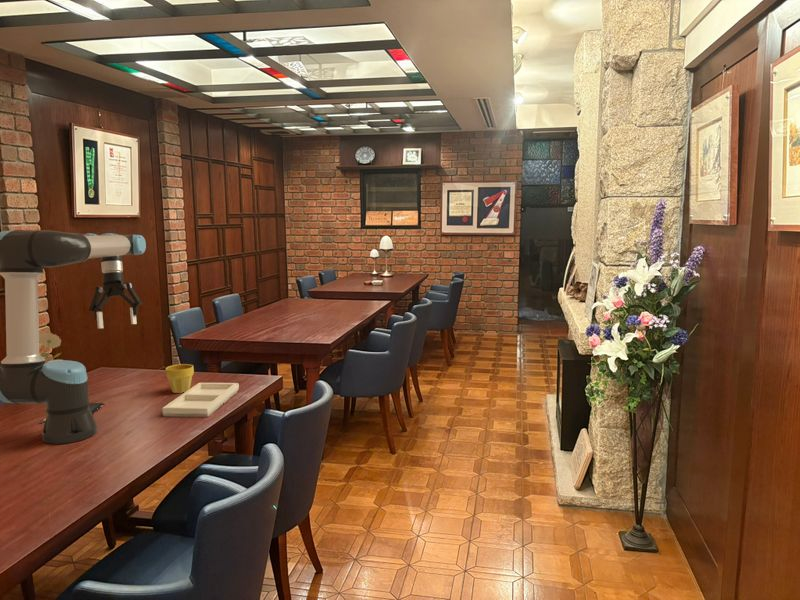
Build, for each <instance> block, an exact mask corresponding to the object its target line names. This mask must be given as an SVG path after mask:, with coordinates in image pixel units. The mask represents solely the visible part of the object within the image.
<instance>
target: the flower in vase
mask: <svg viewBox="0 0 800 600" xmlns="http://www.w3.org/2000/svg"><path fill="white" fill-rule="evenodd" d="M61 344H62V339H61V338H60V336H58V335H57V334H56V333H55V334H53V333H52V332H49V333H48V332H42V333H39V345H41V346H43V347H45V348H47V351H46V352H45V351H44V352H40V353H39V354H40V355H41V356H42V357H43V358H44V359H47V358H48V357H50V359H51V360H49V361H48V362H51V361H62V360H63V359H55V358H57V357H59V356H60V355H61V354H62V352H63V351H62V352H58V353H56V354H55V355H54V356H53V357H52V356H51V354H50V352H49V349H56V348H59V347H60V346H61Z"/></svg>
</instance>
